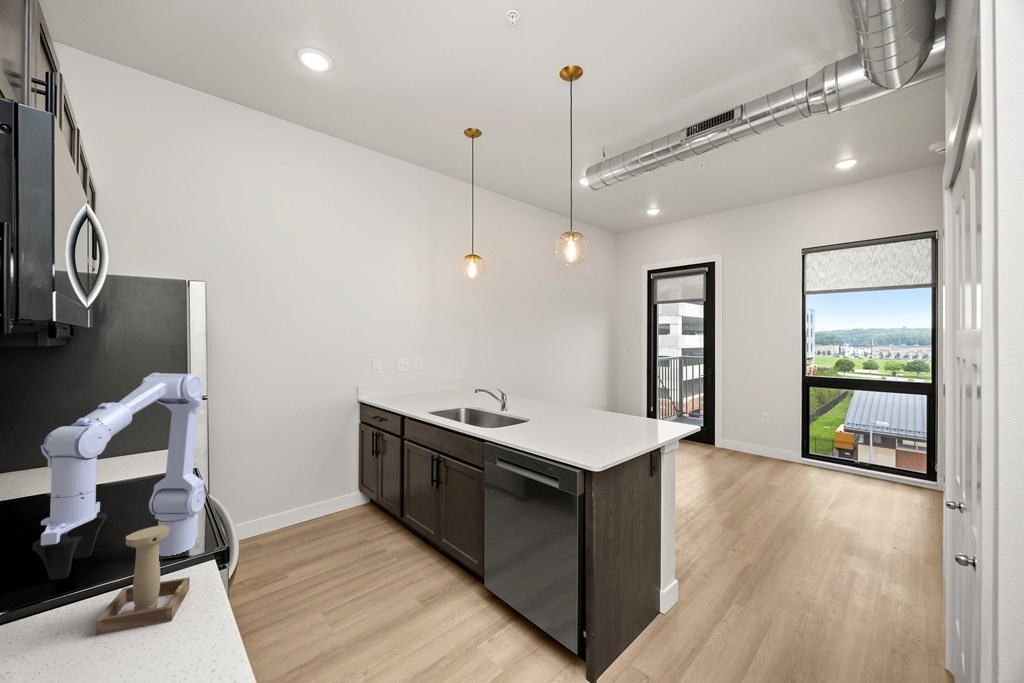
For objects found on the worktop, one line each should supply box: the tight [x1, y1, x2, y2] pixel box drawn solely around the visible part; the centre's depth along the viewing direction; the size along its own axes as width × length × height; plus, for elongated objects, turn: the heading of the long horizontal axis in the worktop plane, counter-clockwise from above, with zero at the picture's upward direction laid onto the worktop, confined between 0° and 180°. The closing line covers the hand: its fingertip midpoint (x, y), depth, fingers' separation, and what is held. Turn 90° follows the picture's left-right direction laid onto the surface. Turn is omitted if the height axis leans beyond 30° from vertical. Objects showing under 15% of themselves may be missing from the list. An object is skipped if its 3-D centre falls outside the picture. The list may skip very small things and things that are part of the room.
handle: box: [125, 525, 170, 612], centre depth 81 cm, size 5×6×15 cm
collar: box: [94, 577, 190, 637], centre depth 81 cm, size 11×11×3 cm
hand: (71, 567), depth 77 cm, fingers open, 7 cm apart
